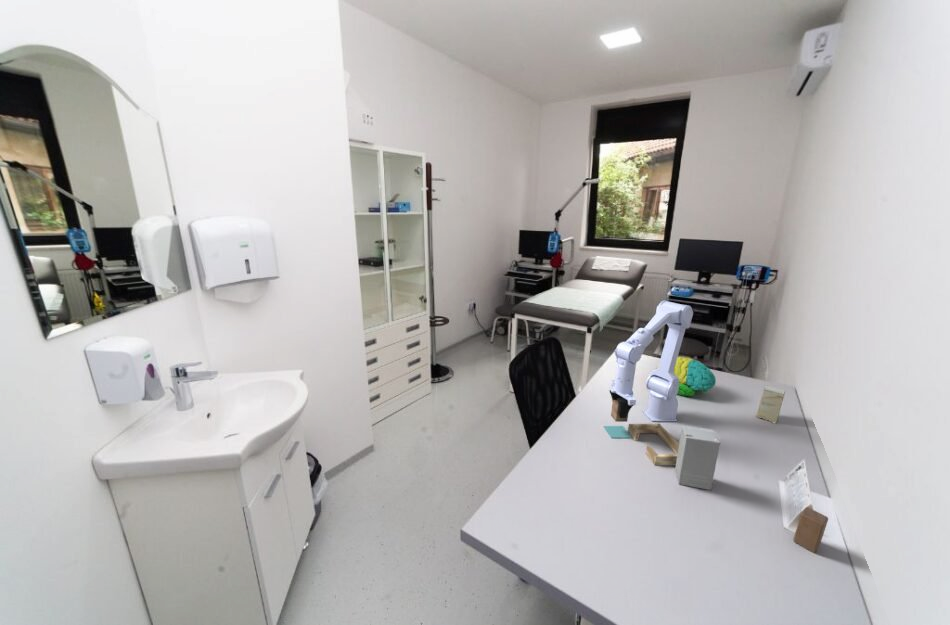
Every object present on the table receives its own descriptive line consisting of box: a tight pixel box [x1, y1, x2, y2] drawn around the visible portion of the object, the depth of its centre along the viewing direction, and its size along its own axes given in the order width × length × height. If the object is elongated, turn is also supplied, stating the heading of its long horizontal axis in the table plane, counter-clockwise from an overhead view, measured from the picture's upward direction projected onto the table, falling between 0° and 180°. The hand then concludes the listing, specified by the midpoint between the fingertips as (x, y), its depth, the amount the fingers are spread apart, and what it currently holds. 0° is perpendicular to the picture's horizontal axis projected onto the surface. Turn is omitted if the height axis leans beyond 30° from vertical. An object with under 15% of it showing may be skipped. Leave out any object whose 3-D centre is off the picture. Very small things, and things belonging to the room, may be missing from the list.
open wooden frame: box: [627, 423, 679, 466], centre depth 119 cm, size 11×18×3 cm, turn 3°
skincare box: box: [674, 424, 721, 491], centre depth 102 cm, size 8×7×16 cm
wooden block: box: [793, 506, 829, 554], centre depth 84 cm, size 4×4×8 cm
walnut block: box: [610, 400, 629, 423], centre depth 125 cm, size 4×4×6 cm
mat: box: [603, 425, 633, 439], centre depth 127 cm, size 7×7×1 cm
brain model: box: [655, 356, 717, 397], centre depth 159 cm, size 24×19×15 cm
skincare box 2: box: [756, 385, 786, 424], centre depth 137 cm, size 6×4×12 cm
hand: (619, 414), depth 125 cm, fingers closed on walnut block, 4 cm apart
